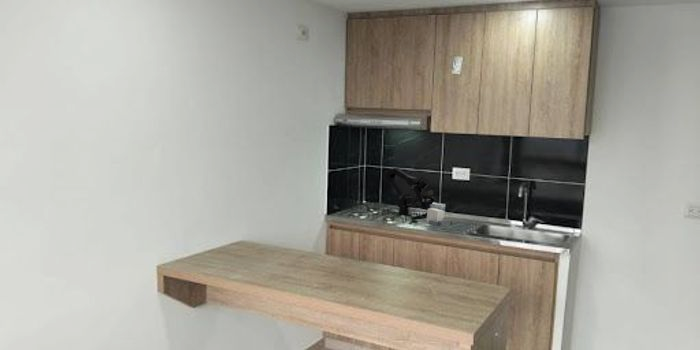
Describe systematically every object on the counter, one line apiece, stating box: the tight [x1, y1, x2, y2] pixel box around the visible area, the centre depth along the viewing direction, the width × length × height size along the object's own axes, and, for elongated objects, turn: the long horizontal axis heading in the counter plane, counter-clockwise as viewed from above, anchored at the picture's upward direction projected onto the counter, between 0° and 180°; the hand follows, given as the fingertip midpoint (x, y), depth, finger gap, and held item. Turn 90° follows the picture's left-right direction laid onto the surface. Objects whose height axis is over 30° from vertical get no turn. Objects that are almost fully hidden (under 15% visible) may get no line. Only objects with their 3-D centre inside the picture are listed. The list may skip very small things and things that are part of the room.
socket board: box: [415, 217, 453, 227], centre depth 367 cm, size 22×14×4 cm, turn 40°
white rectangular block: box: [426, 208, 444, 222], centre depth 366 cm, size 9×6×9 cm, turn 40°
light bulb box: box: [430, 201, 446, 219], centre depth 387 cm, size 11×7×11 cm, turn 56°
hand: (430, 211), depth 369 cm, fingers closed
